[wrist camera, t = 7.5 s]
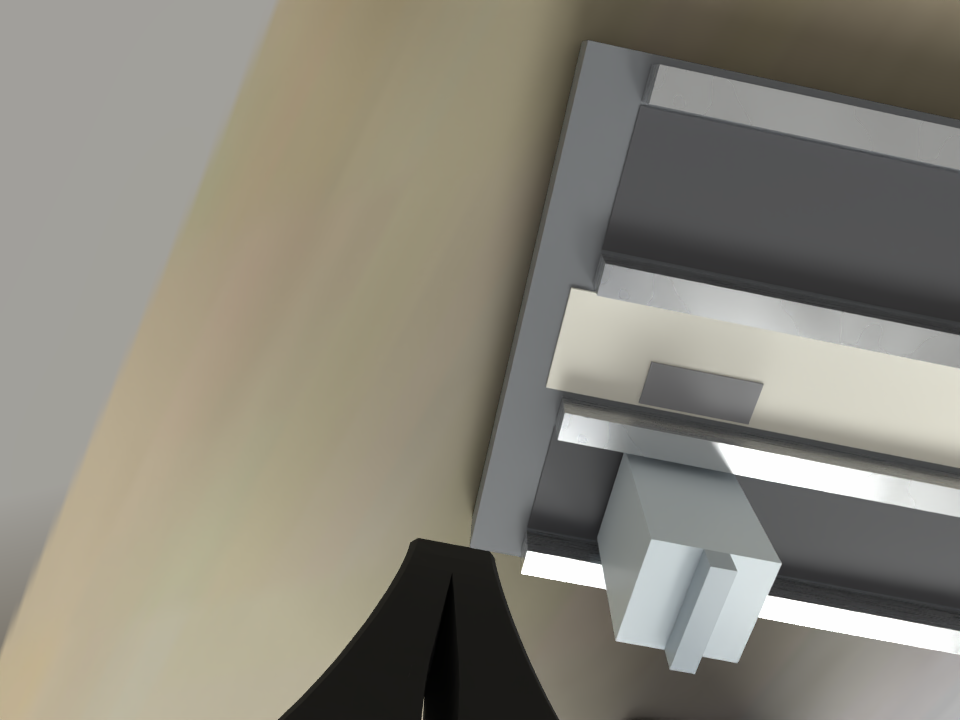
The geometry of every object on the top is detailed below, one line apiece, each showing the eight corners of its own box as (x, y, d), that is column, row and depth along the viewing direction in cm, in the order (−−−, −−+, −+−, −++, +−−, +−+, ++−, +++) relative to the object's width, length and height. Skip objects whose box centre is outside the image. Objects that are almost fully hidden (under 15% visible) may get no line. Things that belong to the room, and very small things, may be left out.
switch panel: (1132, 641, 24) (1198, 704, 21) (472, 517, 23) (467, 569, 21) (1431, 224, 18) (1564, 248, 16) (581, 41, 17) (593, 39, 15)
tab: (697, 556, 21) (745, 682, 17) (596, 537, 21) (618, 660, 17) (731, 469, 20) (791, 581, 16) (625, 448, 20) (656, 556, 16)
